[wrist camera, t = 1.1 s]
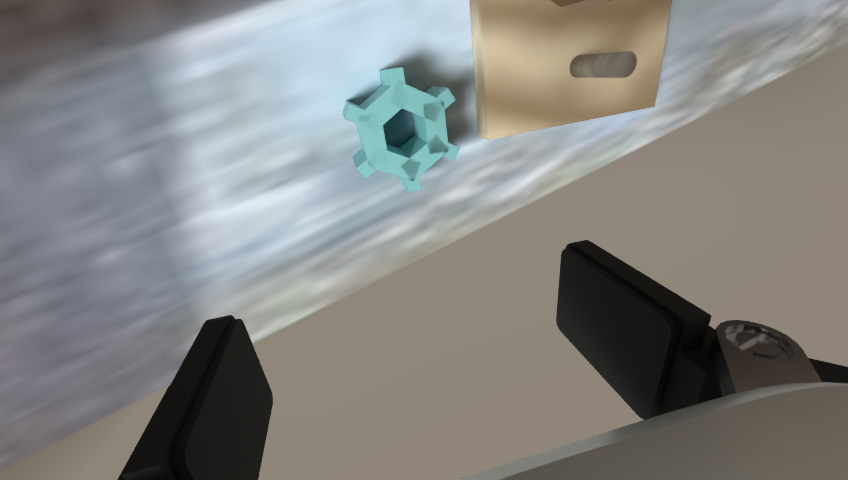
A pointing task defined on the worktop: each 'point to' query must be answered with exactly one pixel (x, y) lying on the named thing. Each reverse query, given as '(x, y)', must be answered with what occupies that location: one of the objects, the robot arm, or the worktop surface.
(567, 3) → the walnut gear
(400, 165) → the teal gear
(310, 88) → the worktop surface
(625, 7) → the gear board
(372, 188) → the worktop surface
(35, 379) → the worktop surface
